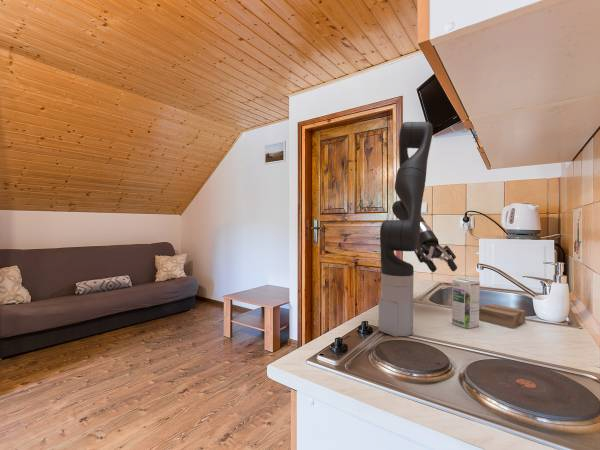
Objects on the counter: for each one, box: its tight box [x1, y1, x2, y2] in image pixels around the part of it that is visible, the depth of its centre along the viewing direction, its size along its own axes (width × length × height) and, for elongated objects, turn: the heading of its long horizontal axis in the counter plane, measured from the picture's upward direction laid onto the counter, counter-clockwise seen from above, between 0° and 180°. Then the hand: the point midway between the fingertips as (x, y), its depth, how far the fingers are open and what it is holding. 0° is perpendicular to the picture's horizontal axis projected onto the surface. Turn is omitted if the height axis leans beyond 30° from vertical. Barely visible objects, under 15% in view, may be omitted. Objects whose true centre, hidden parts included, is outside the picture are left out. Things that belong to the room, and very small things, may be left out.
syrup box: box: [451, 277, 481, 329], centre depth 93 cm, size 6×6×14 cm
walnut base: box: [479, 303, 526, 329], centre depth 97 cm, size 10×10×4 cm
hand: (445, 270), depth 102 cm, fingers open, 8 cm apart
